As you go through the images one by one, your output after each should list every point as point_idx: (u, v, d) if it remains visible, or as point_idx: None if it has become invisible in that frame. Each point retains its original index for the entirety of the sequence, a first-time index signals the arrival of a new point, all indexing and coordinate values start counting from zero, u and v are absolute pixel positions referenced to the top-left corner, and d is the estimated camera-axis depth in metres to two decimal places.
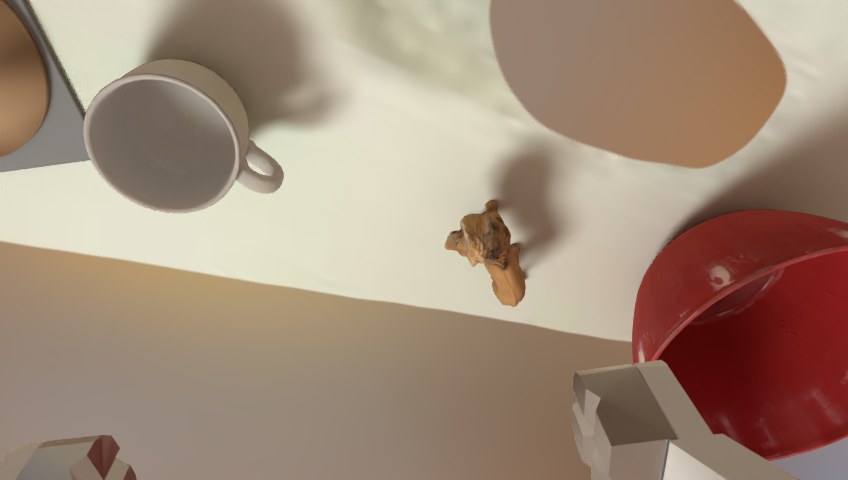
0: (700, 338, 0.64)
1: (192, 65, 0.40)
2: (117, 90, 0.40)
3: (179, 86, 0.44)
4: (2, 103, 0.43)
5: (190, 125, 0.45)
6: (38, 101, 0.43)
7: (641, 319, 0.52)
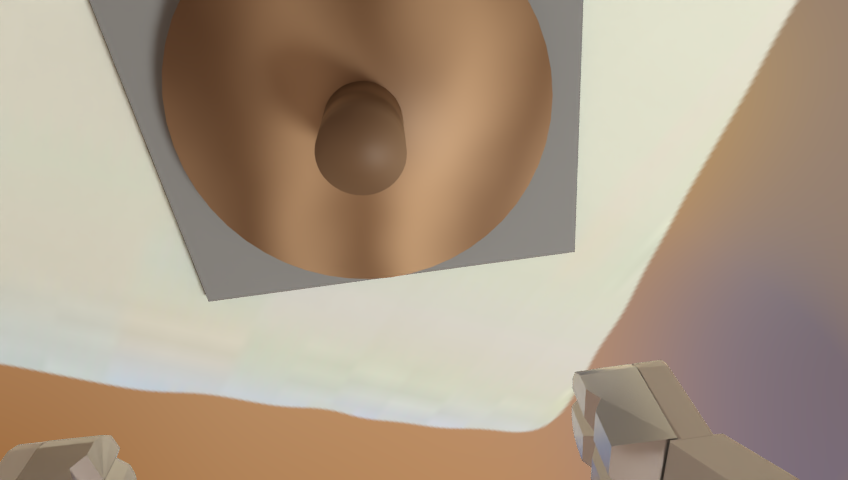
0: None
1: None
2: None
3: None
4: (443, 11, 0.22)
5: None
6: None
7: None
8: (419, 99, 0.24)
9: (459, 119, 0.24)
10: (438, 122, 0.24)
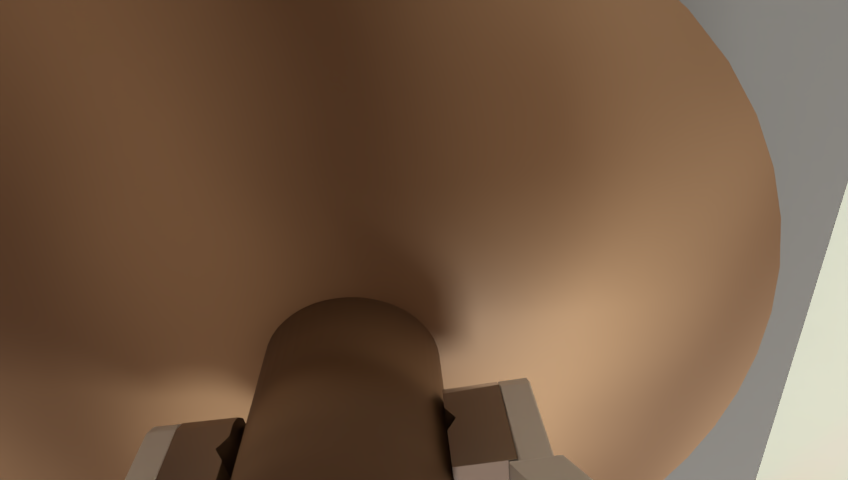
0: None
1: None
2: None
3: None
4: (549, 151, 0.09)
5: None
6: None
7: None
8: (479, 326, 0.11)
9: (562, 359, 0.11)
10: (517, 365, 0.11)
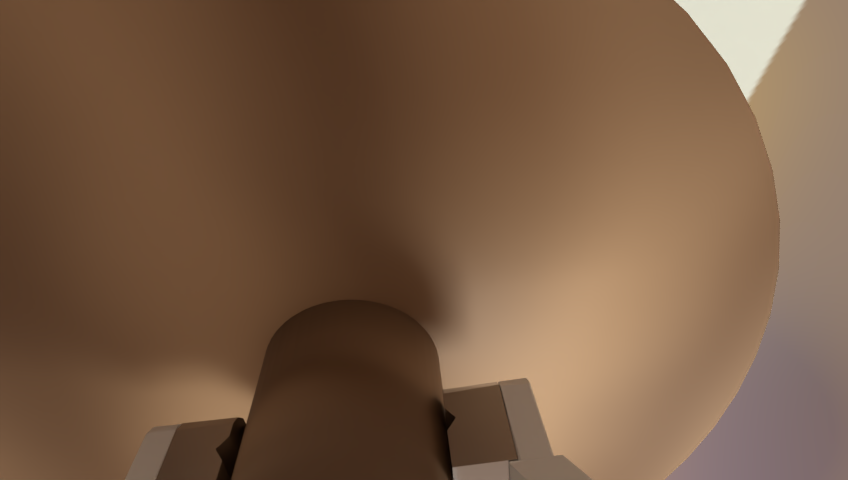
0: None
1: None
2: None
3: None
4: (549, 154, 0.09)
5: None
6: None
7: None
8: (478, 328, 0.11)
9: (562, 361, 0.11)
10: (517, 367, 0.11)
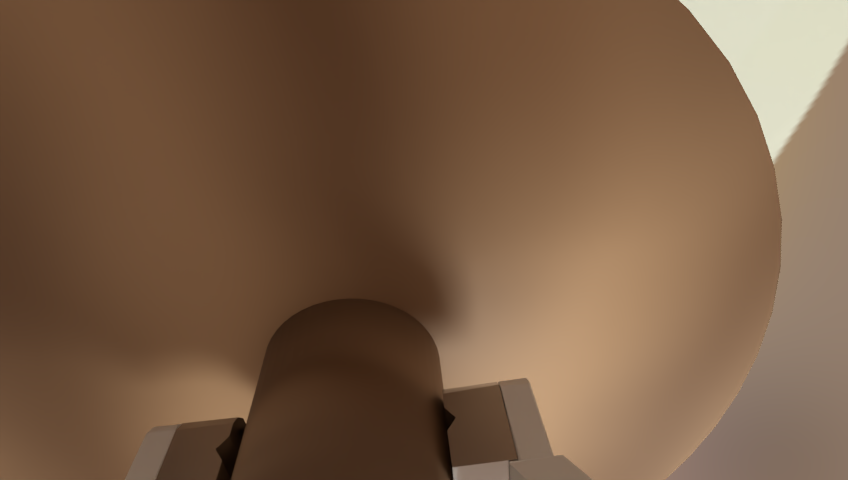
0: None
1: None
2: None
3: None
4: (550, 153, 0.09)
5: None
6: None
7: None
8: (479, 327, 0.11)
9: (563, 360, 0.11)
10: (518, 366, 0.11)
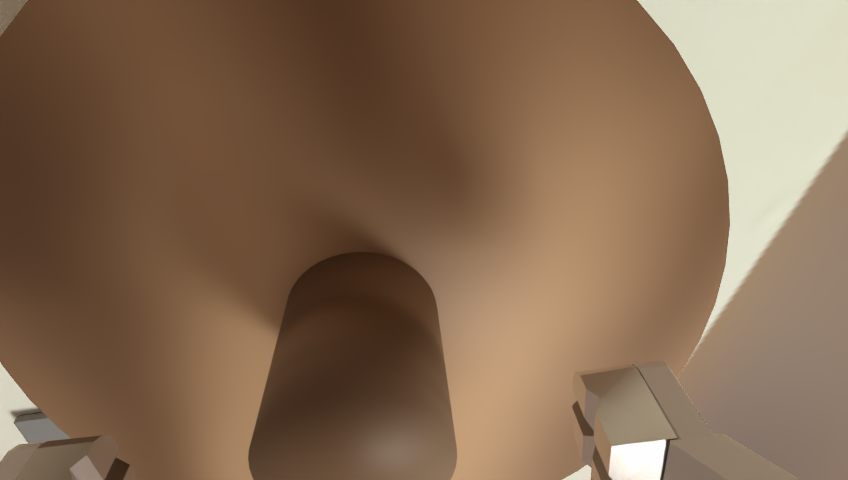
0: None
1: None
2: None
3: None
4: (526, 123, 0.11)
5: None
6: None
7: None
8: (470, 278, 0.12)
9: (544, 308, 0.13)
10: (505, 314, 0.13)
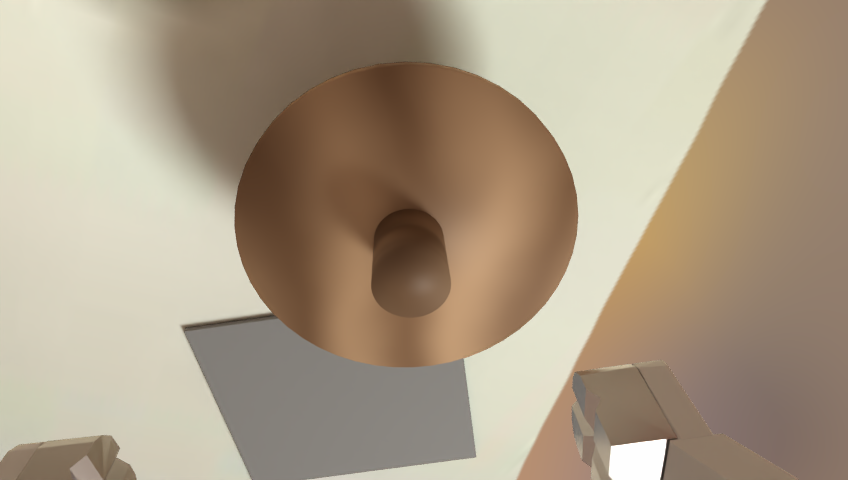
0: None
1: None
2: None
3: None
4: (480, 151, 0.25)
5: None
6: (479, 90, 0.24)
7: None
8: (458, 221, 0.27)
9: (494, 236, 0.27)
10: (475, 239, 0.27)
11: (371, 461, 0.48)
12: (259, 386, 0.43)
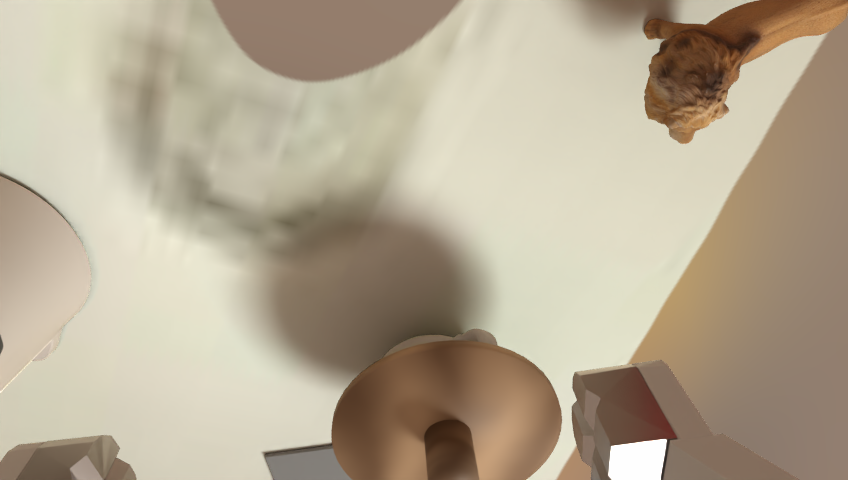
0: None
1: None
2: None
3: None
4: (498, 389, 0.38)
5: None
6: (499, 359, 0.37)
7: None
8: (482, 425, 0.40)
9: (505, 433, 0.40)
10: (492, 434, 0.40)
11: None
12: None
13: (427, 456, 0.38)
